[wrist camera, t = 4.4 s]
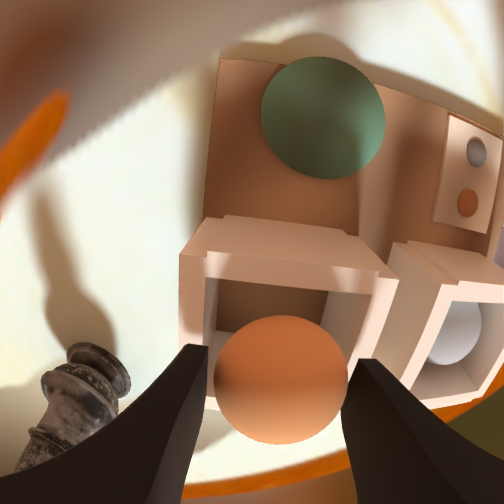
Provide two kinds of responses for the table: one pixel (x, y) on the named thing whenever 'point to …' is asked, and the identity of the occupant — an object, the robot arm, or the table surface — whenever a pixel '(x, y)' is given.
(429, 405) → the open square box
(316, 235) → the beige open box
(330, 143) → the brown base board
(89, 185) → the table surface
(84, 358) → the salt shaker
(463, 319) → the grey ball
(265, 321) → the orange ball
